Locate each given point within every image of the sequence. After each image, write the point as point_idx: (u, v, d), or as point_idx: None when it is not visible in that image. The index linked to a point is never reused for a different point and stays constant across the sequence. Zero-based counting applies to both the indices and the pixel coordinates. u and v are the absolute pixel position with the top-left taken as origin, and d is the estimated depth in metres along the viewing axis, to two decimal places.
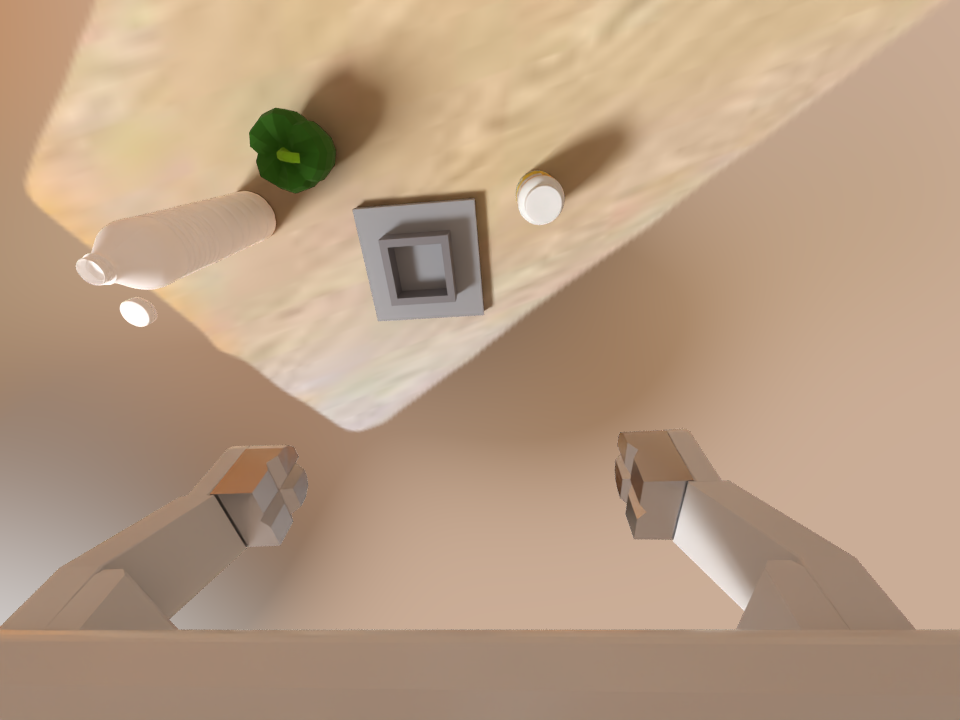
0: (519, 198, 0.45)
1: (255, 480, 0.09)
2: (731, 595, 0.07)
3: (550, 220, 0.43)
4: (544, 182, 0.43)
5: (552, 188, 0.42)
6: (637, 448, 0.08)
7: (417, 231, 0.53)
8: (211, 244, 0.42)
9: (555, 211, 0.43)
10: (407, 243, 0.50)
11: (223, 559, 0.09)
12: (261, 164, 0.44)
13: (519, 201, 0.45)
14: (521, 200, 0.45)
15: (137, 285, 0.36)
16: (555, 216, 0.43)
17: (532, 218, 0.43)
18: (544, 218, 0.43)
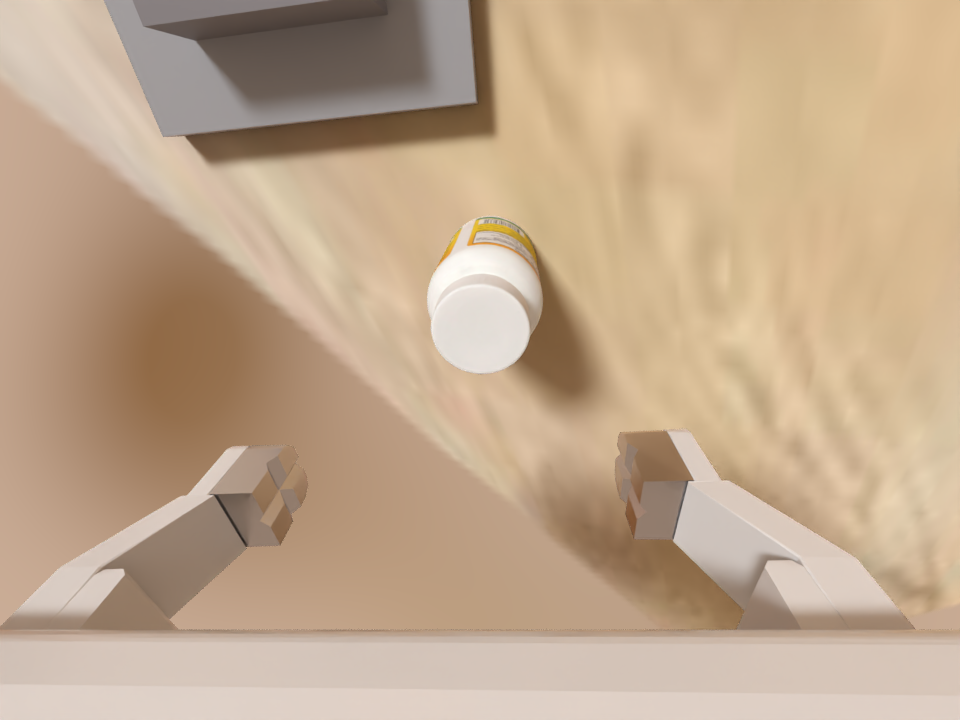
0: (491, 251, 0.16)
1: (255, 480, 0.09)
2: (731, 595, 0.07)
3: (442, 350, 0.16)
4: (529, 314, 0.17)
5: (521, 350, 0.16)
6: (637, 448, 0.08)
7: None
8: None
9: (465, 360, 0.16)
10: None
11: (223, 560, 0.09)
12: None
13: (483, 252, 0.16)
14: (486, 258, 0.16)
15: None
16: (452, 361, 0.16)
17: (444, 305, 0.15)
18: (446, 335, 0.16)
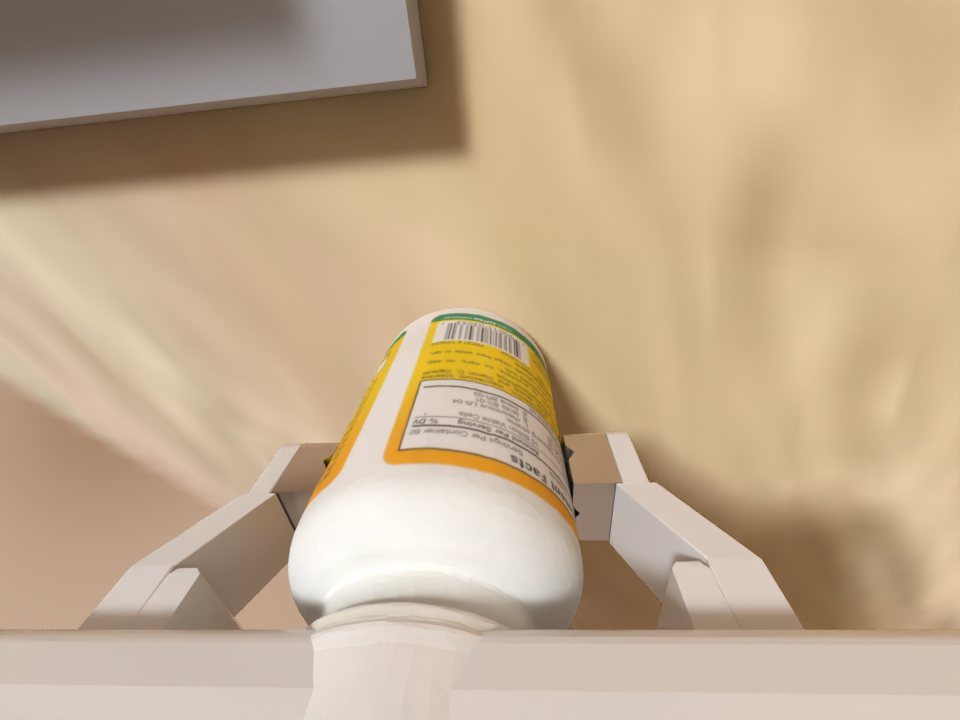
0: (443, 499, 0.06)
1: (315, 478, 0.08)
2: (658, 596, 0.07)
3: None
4: None
5: None
6: (574, 450, 0.09)
7: None
8: None
9: None
10: None
11: (282, 558, 0.09)
12: None
13: (421, 502, 0.06)
14: (429, 526, 0.06)
15: None
16: None
17: None
18: None
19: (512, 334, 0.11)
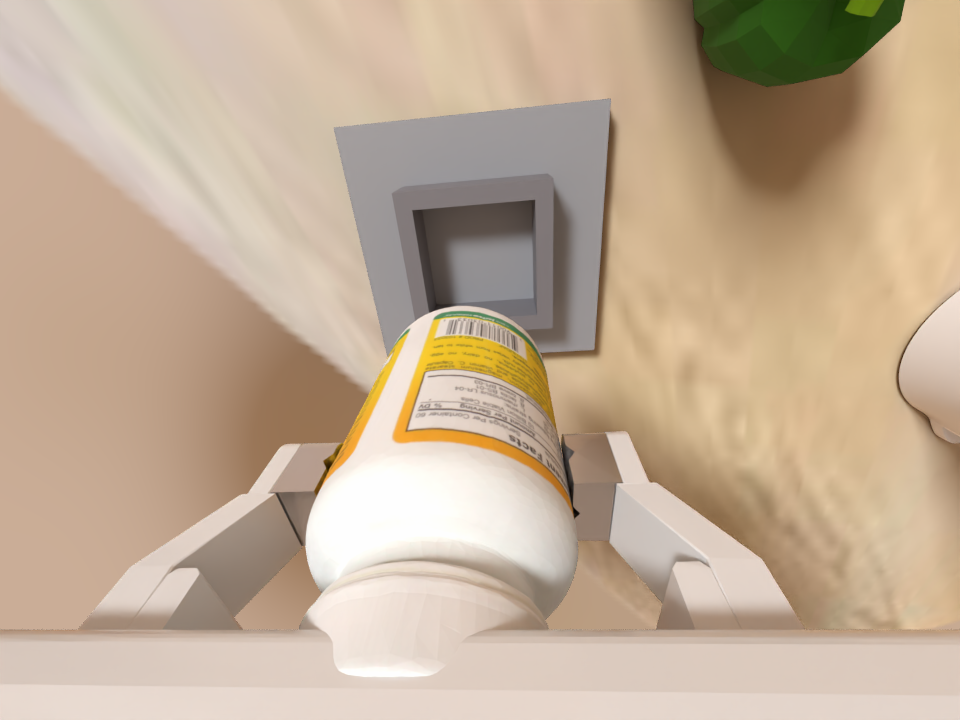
0: (448, 472, 0.06)
1: (315, 478, 0.08)
2: (658, 595, 0.07)
3: None
4: (549, 601, 0.07)
5: None
6: (574, 450, 0.09)
7: None
8: None
9: None
10: (541, 248, 0.23)
11: (281, 558, 0.09)
12: None
13: (428, 475, 0.06)
14: (436, 496, 0.06)
15: None
16: None
17: None
18: None
19: (510, 330, 0.11)
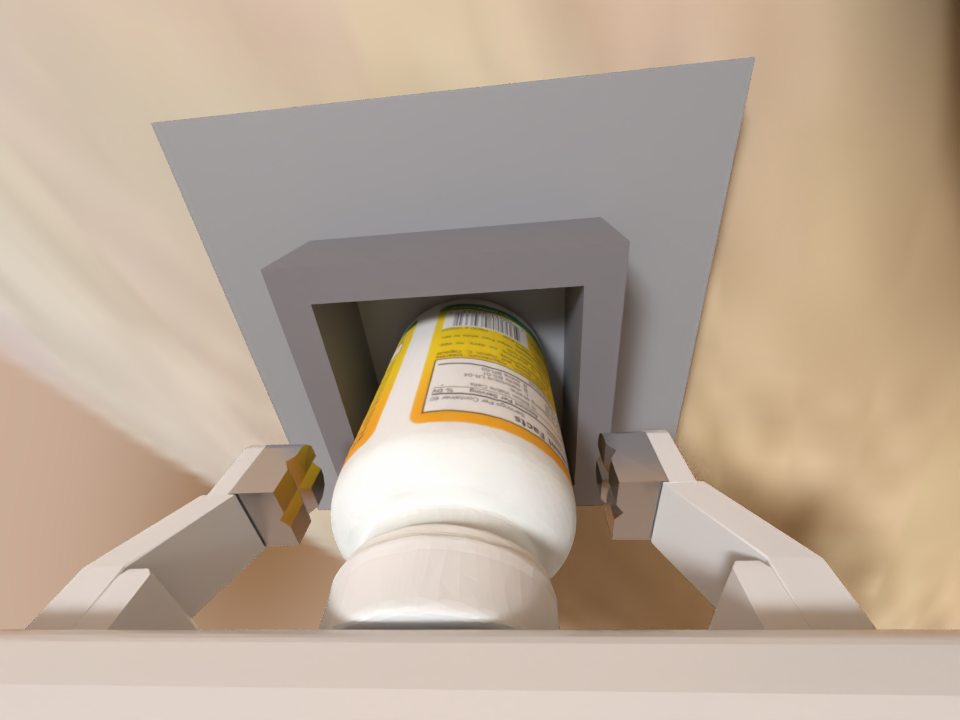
0: (461, 447, 0.07)
1: (275, 479, 0.09)
2: (706, 595, 0.07)
3: None
4: (551, 563, 0.08)
5: None
6: (615, 449, 0.08)
7: None
8: None
9: None
10: (591, 377, 0.11)
11: (243, 559, 0.09)
12: None
13: (444, 450, 0.07)
14: (451, 468, 0.07)
15: None
16: None
17: None
18: None
19: (512, 321, 0.12)
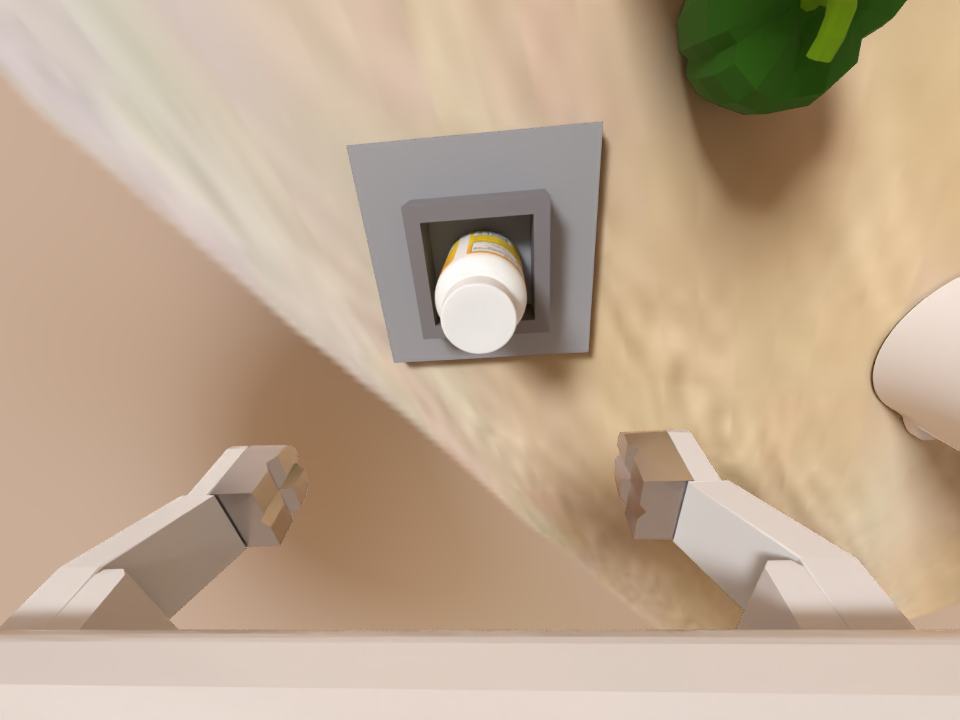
0: (485, 258, 0.21)
1: (255, 480, 0.09)
2: (731, 595, 0.07)
3: (448, 335, 0.21)
4: (516, 307, 0.22)
5: (510, 334, 0.21)
6: (637, 448, 0.08)
7: None
8: None
9: (467, 343, 0.21)
10: (539, 258, 0.25)
11: (223, 559, 0.09)
12: None
13: (479, 258, 0.21)
14: (482, 263, 0.21)
15: None
16: (457, 344, 0.21)
17: (450, 299, 0.20)
18: (452, 323, 0.20)
19: (504, 237, 0.26)
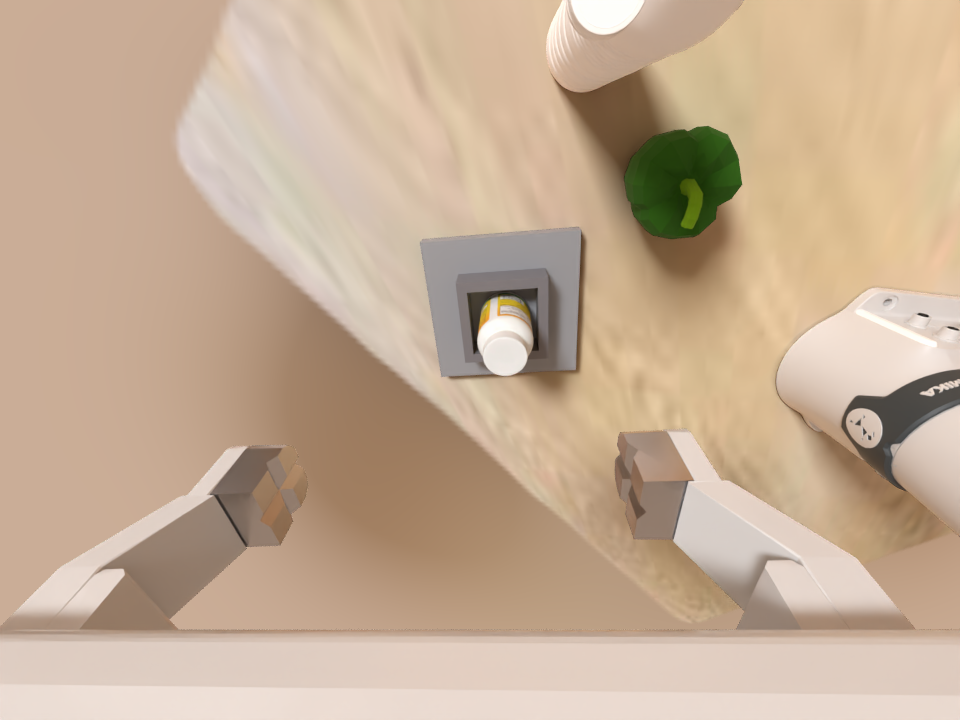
0: (509, 319, 0.36)
1: (255, 480, 0.09)
2: (731, 595, 0.07)
3: (487, 365, 0.35)
4: (527, 347, 0.37)
5: (523, 365, 0.35)
6: (637, 448, 0.08)
7: None
8: (620, 69, 0.22)
9: (498, 370, 0.36)
10: (541, 313, 0.40)
11: (223, 559, 0.09)
12: (685, 147, 0.29)
13: (505, 319, 0.36)
14: (507, 323, 0.36)
15: None
16: (492, 370, 0.36)
17: (489, 345, 0.34)
18: (489, 358, 0.35)
19: (519, 298, 0.41)
